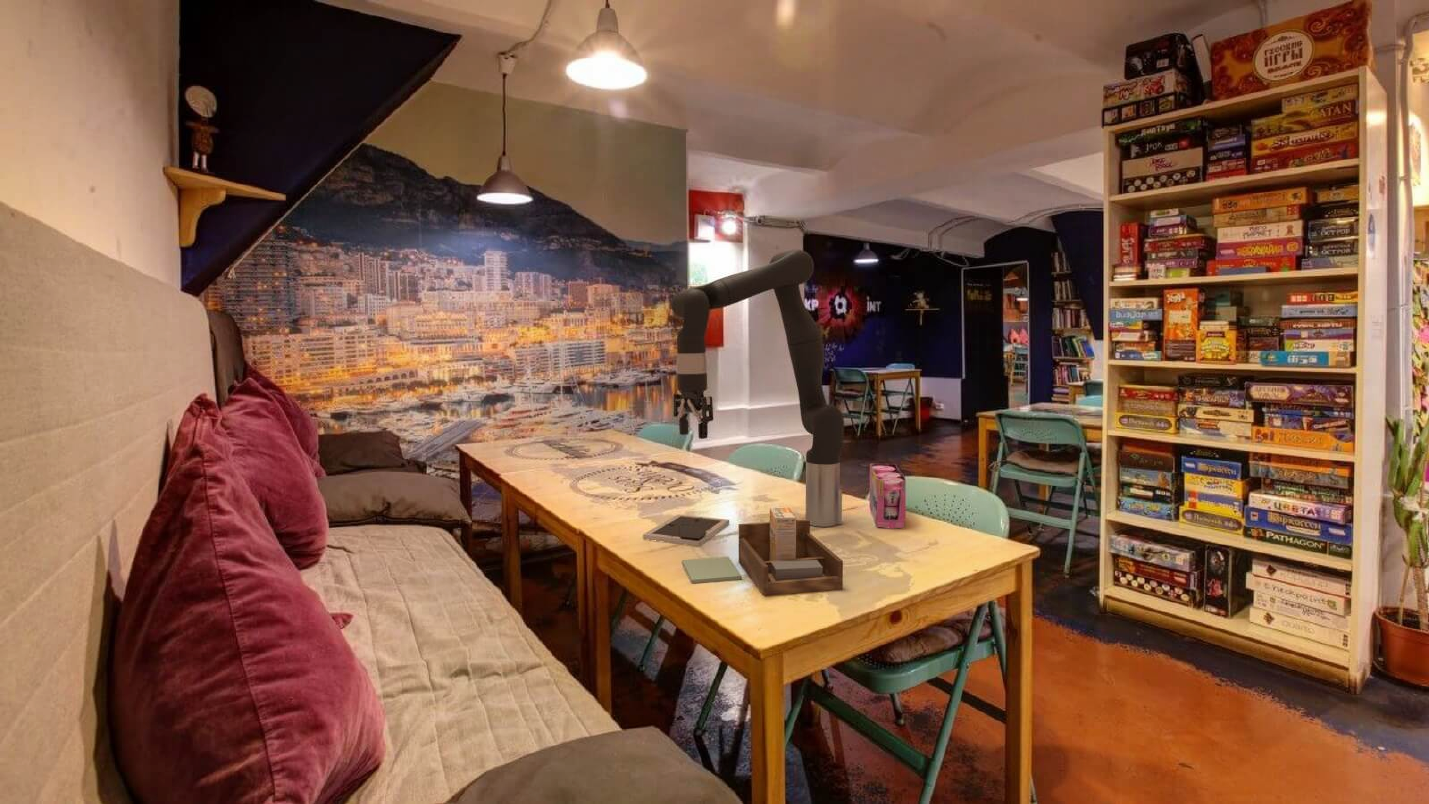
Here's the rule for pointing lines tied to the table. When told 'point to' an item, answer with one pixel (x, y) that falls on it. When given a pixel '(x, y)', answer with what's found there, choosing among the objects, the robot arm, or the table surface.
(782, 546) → the supplement box
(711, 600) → the table surface
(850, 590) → the table surface
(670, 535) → the picture frame
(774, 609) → the table surface
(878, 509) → the gum box
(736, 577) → the pad
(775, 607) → the table surface
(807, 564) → the upper offcut
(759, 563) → the rack
